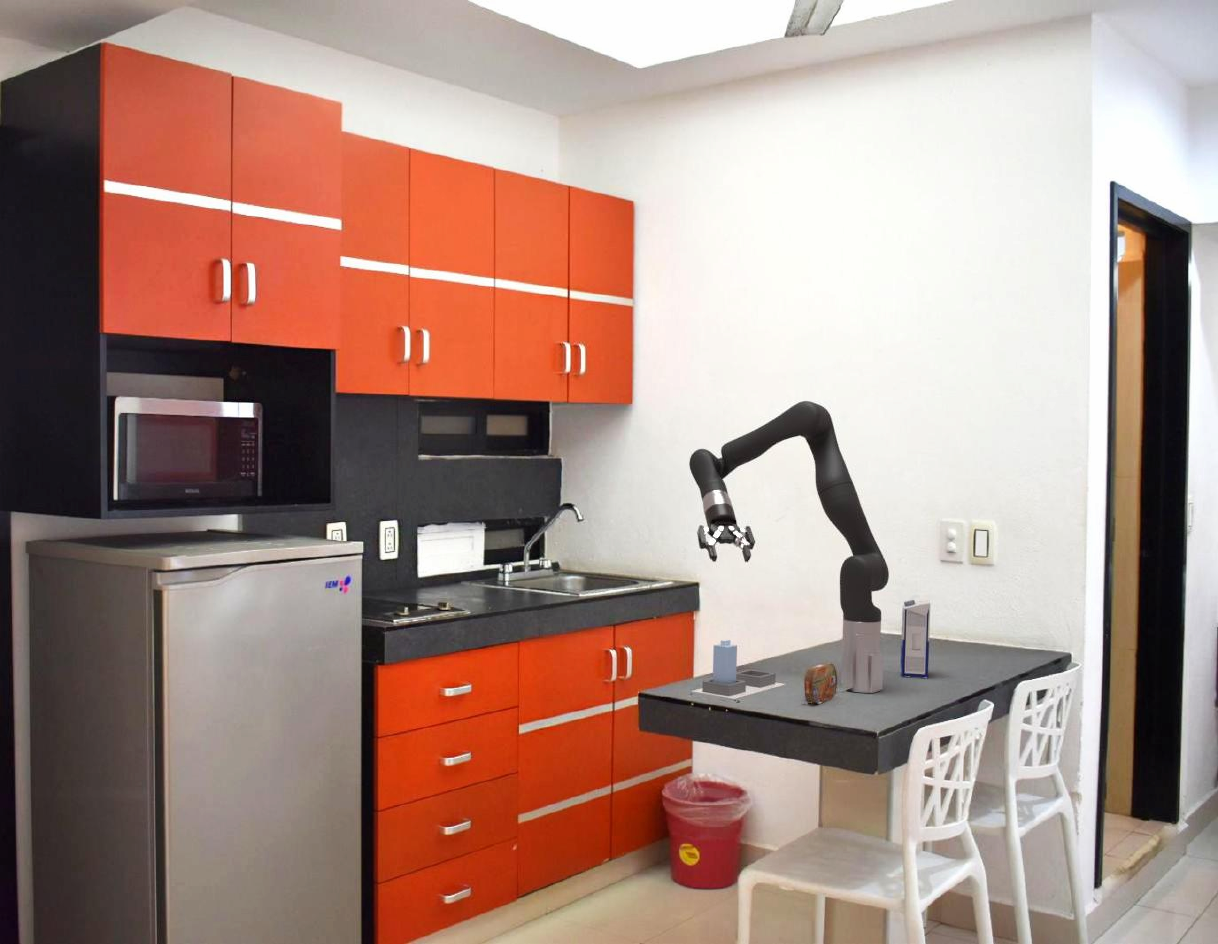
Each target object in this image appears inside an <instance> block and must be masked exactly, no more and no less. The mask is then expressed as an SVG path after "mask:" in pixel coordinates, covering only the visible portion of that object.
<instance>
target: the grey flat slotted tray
mask: <svg viewBox="0 0 1218 944" xmlns="http://www.w3.org/2000/svg"><path fill="white" fill-rule="evenodd" d="M776 675H777V674H776V673H774V672H768V671H761V670H756V669H746V670H741V671H736V683H733V684H729V685H727V684H721V683H715V682H713V678H710V679H707V680H702V687H701V688H697V689H695V690H692V691H691V692H692V693H698V694H703V695H709V696H715V697H720V698H724V699H729V700H733V701H736V700H737V699H739V698H742V697H746V696H750V695H753V694H754V695H755V694H757V693H760V692H765V691H767V690H771V689H775V688H778V687H781V686H786V685H787V684H786V683H781V682H776Z"/></svg>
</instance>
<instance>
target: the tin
mask: <svg viewBox="0 0 1218 944" xmlns="http://www.w3.org/2000/svg"><path fill="white" fill-rule="evenodd" d="M803 680H804V681H803V682H804V683H803V684H804V697H805V698H804V699H805V700H806V701H808V702H812V703H811V704H814V703H817V705H819V704H818V703H819V702H824V703H826V702H827V700H828V701H830V700H832V699H833V698H834V697H835V694H836V693H837V688H838V674H837V668H836V666H835V664H833V663H831V662H830V663H820V664H817V665H815V666H812V667H809V668H808V669H807V670H806V672H805V674H804V679H803ZM831 698H832V699H831ZM829 699H830V700H829ZM825 701H826V702H825Z"/></svg>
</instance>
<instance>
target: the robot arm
mask: <svg viewBox="0 0 1218 944" xmlns="http://www.w3.org/2000/svg"><path fill="white" fill-rule="evenodd" d="M796 437H802V438H804V440H805V441H806V443H807V444H808V447H809V450H810V451H811V455H812V457H813V461H814V465H815V466H814V467H815V468H814V469H815V473H814V474H815V475H814V477H815V487H816V493H817V495H818V498H819V501H820V504H821V506H822V509H823V512H824V513H825V516H826V517H827V518H828V519H829V521H830V522H831V523H832V525H833V526H835V529H837V530H838V531H839V533H840V534H841V535H842V536H843V537H844V540H845V541H846V542H847V545H848V546H849V548H850V550H851V554H852V556H848V557H847V558H845V559H844V561H843V563H842V564H841V568H840V572H839V602H840V604H839V605H840V609H841V610H842V611H841V612H842V637H841V638H842V641H841V642H842V643H841V674H840V675H841V676H840V685H841V687H844V688H847V689H846V691H847V692H855V693H866V694H867V693H869V694H874V693H877V692H880V691H883V683H884V682H883V679H884V678H883V677H884V674H883V673H884V672H883V671H884V651H882V650H881V639H882V638H881V636H882V635H881V634H882V633H881V632H882V610H881V609H880V608H879V607H877V606H876V605H874V602H873V592H878V591H881V590H883V589H884V588H886V586H887V584H888V582H889V579H890V573H889V567H888V564H887V562H886V559H885V557H884V555H883V552H882V551H881V549H880V546H879V545H878V543H877V541H876V539H875V537H874V535H873V533H872V530H871V528H870V525H869V523H868V522H869V521H868V519H867V517H866V514H865V512H864V510H863V507H862V504H861V501H860V499H859V495H858V492H857V490H856V487H855V485H854V481H853V479H852V477H851V474H850V473H849V468H848V467H847V464H846V461H845V459H844V457H843V454H842V452H841V450H840V447H839V443H838V442H839V441H838V439H837V435H836V431H835V428H834V422H833V419H832V416H831V414H830V412H829V410H828V409H826V408H825V406H823V405H821V404H818V403H815V402H812V401H809V400H803V401H800V402H797V403H796V404H794V405H792V406H791V407H789V408H788V409H786V410H785V411H784V412H782V413H780V414H779V415H778V416H776V417H775V418H773V419H771V420H769V421H768V422H766V423H765V424H763V425H762V426H759V427H758V428H756V429H754V430H752V431H750V432H748V433H745V434H743V435H741V436H739V437H737V438H736V437H735V439H732V440H730V441H728V442H726V443H724V444H723V445H722V446H721V449H720V454H721V457H719V458H718V457H717V455H715V454H714V453H712V452H711V451H710V450H708V449H706V448H699V449H698V448H697V450H695V451H694V452H693V453H691V456H690V457H689V465H688V466H689V469H690V473H691V474H692V478H693V479H694V481H695V483H696V485H697V487H698V489H699V492H700V497H701V501H702V507H703V514H704V516H705V520H706V524H707V527H705V526H704V525H702V524H701V525H699V526H698V529H697V531H696V534H697V540H698V548H699V549H700V550H705V549H706V550H707V552H708V557H709V559H710V561H712V562H713V563H714V562H715V563H716V561H717V559H718V554H717V550H716V545H717V544H718V543H719V544H721V545H725V544H727V545H734V546H735V547H736V548H739V549H740V550H741V553H742V556H743V559H744V563H749V561H750V559H751V557H752V553H751V550H753V549H754V547H755V544H756V540H755V537H754V535H753V532H752V529H751V526H749V525H747V526H745V527H744V528H743V527H739V525H738V522H737V517H736V515H735V510H734V507H733V506H734V505H733V504H732V503H733V502H732V500H731V498H730V496H729V493H728V492H729V491H728V488H727V485H726V482H725V481H724V479H725V478H726V477H727V476H729V475H730V474H731V473H733V471H734V470H736V469H737V468H738V467H741V466H742V465H745V464H747V463H749V462H751V461H754V460H756V459H757V458H760V457H761V456H762V455H764V454H765V453H767V452H768V451H769V450H770V449H771V448H773V447H774V446H776V445H777V444H780V443H781V442H783V441H785V440H789V439H791V438H796ZM707 534H708V535H709V536H710V537H711V539H710V540H709V541H707V537H706V536H707Z"/></svg>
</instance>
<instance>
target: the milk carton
mask: <svg viewBox="0 0 1218 944" xmlns="http://www.w3.org/2000/svg"><path fill="white" fill-rule="evenodd" d="M901 611H902V614H901V616H902V618H901V642H900V643H901V647H900V671H901V672H900V677H901V676H910V677H928V678H929V660H930V659H929V656H930V655H929V652H930V627H931V626H930V624H931V601H930V600H929V599H927V600H920V601H919V600H918V601H916V600H915V599H910V600H906V601H904V602H903V605H902V610H901ZM910 677H909V678H910Z"/></svg>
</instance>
